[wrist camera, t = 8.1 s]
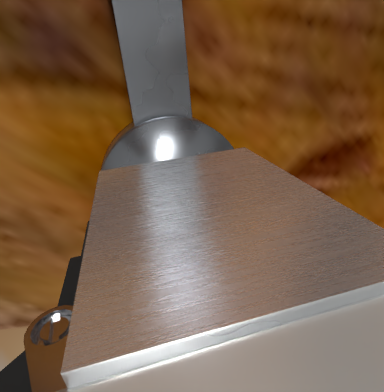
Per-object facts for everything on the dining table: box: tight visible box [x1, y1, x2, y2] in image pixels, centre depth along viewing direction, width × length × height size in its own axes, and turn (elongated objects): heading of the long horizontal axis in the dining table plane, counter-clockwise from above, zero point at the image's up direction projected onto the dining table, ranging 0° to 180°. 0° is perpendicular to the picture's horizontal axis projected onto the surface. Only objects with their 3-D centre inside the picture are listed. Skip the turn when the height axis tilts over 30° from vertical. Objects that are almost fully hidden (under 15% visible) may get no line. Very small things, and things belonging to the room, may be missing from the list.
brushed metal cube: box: [60, 147, 384, 389], centre depth 9 cm, size 6×6×8 cm
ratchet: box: [101, 0, 234, 171], centre depth 12 cm, size 8×21×6 cm, turn 6°
